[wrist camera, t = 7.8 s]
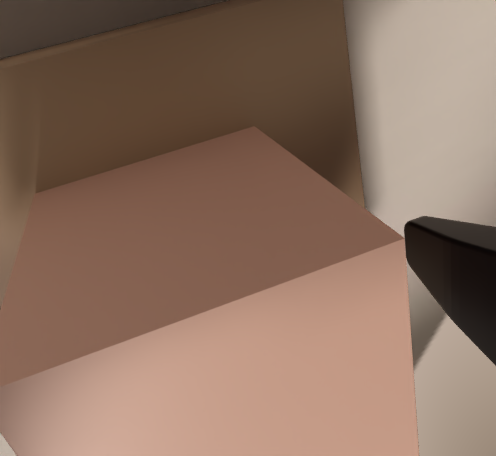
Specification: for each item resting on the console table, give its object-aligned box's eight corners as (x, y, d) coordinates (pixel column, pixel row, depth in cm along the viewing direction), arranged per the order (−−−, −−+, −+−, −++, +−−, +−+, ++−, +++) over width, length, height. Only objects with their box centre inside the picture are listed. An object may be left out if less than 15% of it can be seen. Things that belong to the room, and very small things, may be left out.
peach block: (291, 297, 13) (421, 487, 8) (116, 363, 12) (133, 621, 7) (254, 126, 11) (404, 238, 6) (34, 193, 10) (-25, 396, 5)
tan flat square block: (335, 284, 17) (378, 333, 15) (64, 385, 16) (58, 460, 13) (289, -16, 13) (340, -20, 10) (-105, 86, 11) (-166, 111, 8)
